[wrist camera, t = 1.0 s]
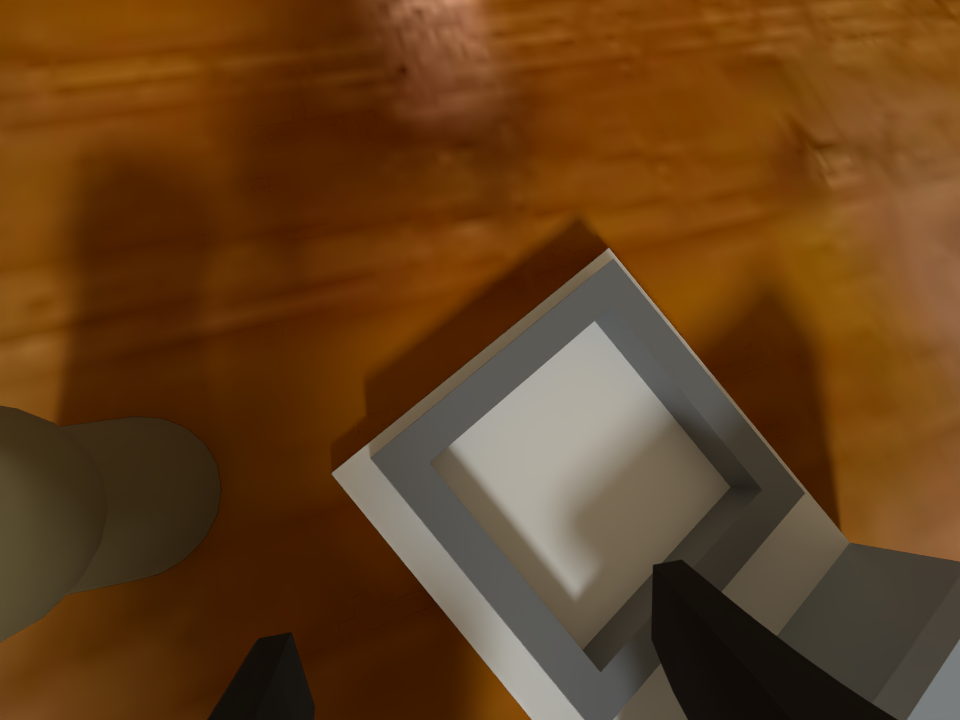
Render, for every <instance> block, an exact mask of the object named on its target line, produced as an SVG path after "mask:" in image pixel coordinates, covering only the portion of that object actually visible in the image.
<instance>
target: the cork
mask: <svg viewBox="0 0 960 720" xmlns="http://www.w3.org/2000/svg"><path fill="white" fill-rule="evenodd" d="M220 494H221V485H220V479H219V473H218V467H217V464H216V462H215V460H214V459H213V457H212V455H211V453H210V452H209V450H208V448H207V446H206V444H205V443H203V442H202V441H201V440H200V439H199V438H198V437H196V436H195V435H194V434H193V433H192V432H191V431H189V430H188V429H187V428H185V427H182V426H180V425H178V424H175V423H173V422H170V421H168V420H165V419H161V418H149V417H137V416H136V417H129V418H121V419H113V420H106V421H98V422H90V423H83V424H75V425H67V426H60V427H58V426H57V425H56V424H54V423H52V422H50V421H47V420H45V419H42V418H40V417H37V416H35V415H32V414H30V413H27V412H24V411H22V410H19V409H16V408H10V407H4V406H0V642H2V641H4V640H5V639H7V638H9V637H10V636H12V635H14V634H16V633H17V632H19V631H21V630H22V629H24V628H26V627H28V626H29V625H31V624H33V623H34V622H36V621H38V620H40V619H41V618H43V617H44V616H45V615H46V614H47V613H48V612H49V611H50V610H51V609H52V608H53V607H54V606H55V605H56V604H57V603H58V602H59V601H60V600H61V599H62V598H63V597H64V596H65V595H67V594H72V593H77V592H82V591H87V590H91V589H96V588H101V587H106V586H111V585H116V584H120V583H125V582H130V581H134V580H138V579H142V578H146V577H149V576H153V575H157V574H160V573H162V572H164V571H166V570H167V569H169V568H171V567H172V566H174V565H176V564H177V563H179V562H181V561H182V560H184V559H186V558H187V556H188V555H189V554H190V553H191V552H192V551H193V550H194V549H195V548H196V547H197V546H198V545H199V544H200V543H201V542H202V541H203V540H204V539H205V537H206V535H207V533H208V531H209V529H210V527H211V525H212V523H213V521H214V519H215V517H216V515H217V512H218V506H219V500H220Z"/></svg>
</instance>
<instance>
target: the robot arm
mask: <svg viewBox="0 0 960 720" xmlns="http://www.w3.org/2000/svg"><path fill="white" fill-rule="evenodd" d="M651 640H652V642H653V645H654V647H655V650H656V652H657V655H658V657H659V660H660V662H661V665H662V667H663V670H664V672H665V674H666V677H667V679H668V681H669V684H670V686H671V688H672V691H673V693H674V695H675V697H676V699H677V700H678V702H679V704H680V706H681V708H682V710H683V712H684V714H685V715H686V717H687V719H688V720H898V719H896V718H894V717H893V716H891V715H890V714H888V713H886V712H885V711H883V710H882V709H880V708H878V707H877V706H875V705H874V704H872V703H870V702H869V701H867V700H866V699H864V698H863V697H861V696H860V695H858V694H857V693H855V692H854V691H852V690H851V689H849V688H848V687H846V686H845V685H843V684H842V683H840V682H839V681H838V680H836V679H835V678H833V677H832V676H831V675H829V674H828V673H826V672H825V671H823V670H822V669H821V668H819V667H818V666H816V665H815V664H814V663H812V662H811V661H809V660H808V659H807V658H805V657H804V656H803V655H801V654H800V653H799V652H797V651H796V650H794V649H793V648H792V647H790V646H789V645H788V644H787V643H785V642H784V641H783V640H781V639H780V638H779V637H777V636H776V635H775V634H774V633H772V632H771V631H770V630H768V629H767V628H766V627H764V626H763V625H762V624H760V623H759V622H758V621H757V620H755V619H754V618H753V617H752V616H750V615H749V614H748V613H747V612H745V611H744V610H743V609H742V608H740V607H739V606H738V605H737V604H735V603H734V602H733V601H732V600H731V599H729V598H728V597H727V596H726V595H724V594H723V593H722V592H721V591H720V590H718V589H717V588H716V587H715V586H713V585H712V584H711V583H710V582H709V581H707V580H706V579H705V578H704V577H703V576H701V575H700V574H699V573H698V572H697V571H695V570H694V569H693V568H692V567H690V566H689V565H688V564H687V563H685V562H684V561H683V560H682V559H681V560H676V561H670V562H665V563H660V564H654V565H653V578H652V625H651ZM314 708H315V706H314V703H313V700H312V697H311V693H310V690H309V687H308V684H307V681H306V677H305V674H304V671H303V668H302V665H301V661H300V658H299V655H298V652H297V649H296V646H295V642H294V639H293V636H292V633H285V634H280V635H275V636H269V637H264V638H259V639H258V640H257V641H256V643H255V644H254V645H253V647H252V649H251V650H250V652H249V653H248V655H247V657H246V658H245V660H244V662H243V663H242V665H241V667H240V668H239V670H238V671H237V673H236V675H235V676H234V678H233V680H232V681H231V683H230V684H229V686H228V688H227V689H226V691H225V693H224V694H223V696H222V697H221V699H220V700H219V702H218V704H217V705H216V707H215V708H214V710H213V712H212V713H211V715H210V716H209V718H208V719H207V720H314Z"/></svg>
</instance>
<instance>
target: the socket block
mask: <svg viewBox="0 0 960 720" xmlns="http://www.w3.org/2000/svg"><path fill="white" fill-rule="evenodd" d="M331 474H332V475H333V477H334V478H335V479H336V480H337V481H338V483H339V484H340V485H341V486H342V488H343V489H344V490H345V491H346V492H347V494H348V495H349V496H350V497H351V499H352V500H353V501H354V502H355V503H356V505H357V506H358V507H359V508H360V510H361V511H362V512H363V513H364V515H365V516H366V517H367V518H368V519H369V521H370V522H371V523H372V524H373V526H374V527H375V528H376V529H377V530H378V532H379V533H380V534H381V535H382V537H383V538H384V539H385V540H386V541H387V543H388V544H389V545H390V546H391V548H392V549H393V550H394V551H395V552H396V554H397V555H398V556H399V557H400V559H401V560H402V561H403V562H404V563H405V565H406V566H407V567H408V568H409V570H410V571H411V572H412V573H413V575H414V576H415V577H416V578H417V579H418V581H419V582H420V583H421V584H422V586H423V587H424V588H425V589H426V590H427V592H428V593H429V594H430V595H431V597H432V598H433V599H434V600H435V601H436V603H437V604H438V605H439V606H440V608H441V609H442V610H443V611H444V612H445V614H446V615H447V616H448V617H449V619H450V620H451V621H452V622H453V623H454V625H455V626H456V627H457V628H458V630H459V631H460V632H461V633H462V635H463V636H464V637H465V638H466V639H467V641H468V642H469V643H470V644H471V646H472V647H473V648H474V649H475V650H476V652H477V653H478V654H479V655H480V657H481V658H482V659H483V660H484V661H485V663H486V664H487V665H488V666H489V668H490V669H491V670H492V671H493V672H494V674H495V675H496V676H497V677H498V679H499V680H500V681H501V682H502V683H503V685H504V686H505V687H506V688H507V690H508V691H509V692H510V693H511V694H512V696H513V697H514V698H515V699H516V701H517V702H518V703H519V704H520V706H521V707H522V708H523V709H524V710H525V712H526V713H527V714H528V715H529V717H530V718H531V719H532V720H688V719H687V717H686V715H685V714H684V712H683V710H682V708H681V706H680V704H679V702H678V700H677V699H676V697H675V695H674V693H673V691H672V688H671V686H670V684H669V681H668V679H667V677H666V674H665V672H664V670H663V667H662V665H661V662H660V660H659V657H658V655H657V652H656V650H655V647H654V645H653V642H652V640H651V625H652V578H653V565H654V564H660V563H665V562H670V561H676V560H681V559H682V560H683V561H684V562H685V563H687V564H688V565H689V566H690V567H692V568H693V569H694V570H695V571H697V572H698V573H699V574H700V575H701V576H703V577H704V578H705V579H706V580H707V581H709V582H710V583H711V584H712V585H713V586H715V587H716V588H717V589H718V590H720V591H721V592H722V593H723V594H724V595H726V596H727V597H728V598H729V599H731V600H732V601H733V602H734V603H735V604H737V605H738V606H739V607H740V608H742V609H743V610H744V611H745V612H747V613H748V614H749V615H750V616H752V617H753V618H754V619H755V620H757V621H758V622H759V623H760V624H762V625H763V626H764V627H766V628H767V629H768V630H770V631H771V632H772V633H774V634H775V635H776V636H777V637H779V638H780V639H781V640H783V641H784V642H785V643H787V644H788V645H789V646H790V647H792V648H793V649H794V650H796V651H797V652H799V653H800V654H801V655H803V656H804V657H805V658H807V659H808V660H809V661H811V662H812V663H814V664H815V665H816V666H818V667H819V668H821V669H822V670H823V671H825V672H826V673H828V674H829V675H831V676H832V677H833V678H835V679H836V680H838V681H839V682H840V683H842V684H843V685H845V686H846V687H848V688H849V689H851V690H852V691H854V692H855V693H857V694H858V695H860V696H861V697H863V698H864V699H866V700H867V701H869V702H870V703H872V704H874V705H875V706H877V707H878V708H880V709H882V710H883V711H885V712H886V713H888V714H890V715H891V716H893V717H894V718H896V719H898V720H960V562H958V561H953V560H947V559H941V558H935V557H929V556H924V555H918V554H912V553H906V552H900V551H895V550H889V549H883V548H877V547H871V546H866V545H860V544H854V543H850V542H849V541H848V540H847V539H846V537H845V536H844V535H843V534H842V533H841V531H840V530H839V529H838V528H837V526H836V525H835V524H834V523H833V522H832V520H831V519H830V518H829V517H828V515H827V514H826V513H825V512H824V511H823V509H822V508H821V507H820V506H819V504H818V503H817V502H816V501H815V500H814V498H813V497H812V496H811V495H810V493H809V492H808V491H807V490H806V489H805V487H804V486H803V485H802V484H801V482H800V481H799V480H798V479H797V477H796V476H795V475H794V474H793V473H792V471H791V470H790V469H789V468H788V466H787V465H786V464H785V463H784V462H783V460H782V459H781V458H780V457H779V455H778V454H777V453H776V452H775V451H774V449H773V448H772V447H771V446H770V444H769V443H768V442H767V441H766V440H765V438H764V437H763V436H762V435H761V433H760V432H759V431H758V430H757V429H756V427H755V426H754V425H753V424H752V422H751V421H750V420H749V419H748V418H747V416H746V415H745V414H744V413H743V411H742V410H741V409H740V408H739V407H738V405H737V404H736V403H735V402H734V400H733V399H732V398H731V397H730V396H729V394H728V393H727V392H726V391H725V389H724V388H723V387H722V386H721V384H720V383H719V382H718V381H717V380H716V378H715V377H714V376H713V375H712V373H711V372H710V371H709V370H708V369H707V367H706V366H705V365H704V364H703V362H702V361H701V360H700V359H699V358H698V356H697V355H696V354H695V353H694V351H693V350H692V349H691V348H690V347H689V345H688V344H687V343H686V342H685V340H684V339H683V338H682V337H681V336H680V334H679V333H678V332H677V331H676V329H675V328H674V327H673V326H672V325H671V323H670V322H669V321H668V320H667V318H666V317H665V316H664V315H663V314H662V312H661V311H660V310H659V309H658V307H657V306H656V305H655V304H654V303H653V301H652V300H651V299H650V298H649V296H648V295H647V294H646V293H645V291H644V290H643V289H642V288H641V287H640V285H639V284H638V283H637V282H636V280H635V279H634V278H633V277H632V276H631V274H630V273H629V272H628V271H627V269H626V268H625V267H624V266H623V265H622V263H621V262H620V261H619V260H618V258H617V257H616V256H615V255H614V254H613V252H612V251H611V250H610V249H609V248H608V249H607V250H606V251H605V252H603V253H602V254H601V255H600V256H598V257H597V258H596V259H595V260H594V261H592V262H591V263H590V264H589V265H587V266H586V267H585V268H584V269H582V270H581V271H580V272H579V273H577V274H576V275H575V276H574V277H573V278H571V279H570V280H569V281H568V282H566V283H565V284H564V285H563V286H561V287H560V288H559V289H558V290H557V291H555V292H554V293H553V294H552V295H550V296H549V297H548V298H547V299H545V300H544V301H543V302H542V303H541V304H539V305H538V306H537V307H536V308H534V309H533V310H532V311H531V312H529V313H528V314H527V315H526V316H525V317H523V318H522V319H521V320H520V321H518V322H517V323H516V324H515V325H513V326H512V327H511V328H510V329H508V330H507V331H506V332H505V333H504V334H502V335H501V336H500V337H499V338H497V339H496V340H495V341H494V342H492V343H491V344H490V345H489V346H488V347H486V348H485V349H484V350H483V351H481V352H480V353H479V354H478V355H476V356H475V357H474V358H473V359H472V360H470V361H469V362H468V363H467V364H465V365H464V366H463V367H462V368H460V369H459V370H458V371H457V372H456V373H454V374H453V375H452V376H451V377H449V378H448V379H447V380H446V381H444V382H443V383H442V384H441V385H439V386H438V387H437V388H436V389H435V390H433V391H432V392H431V393H430V394H428V395H427V396H426V397H425V398H423V399H422V400H421V401H420V402H419V403H417V404H416V405H415V406H414V407H412V408H411V409H410V410H409V411H407V412H406V413H405V414H404V415H403V416H401V417H400V418H399V419H398V420H396V421H395V422H394V423H393V424H391V425H390V426H389V427H388V428H387V429H385V430H384V431H383V432H382V433H380V434H379V435H378V436H377V437H375V438H374V439H373V440H372V441H370V442H369V443H368V444H367V445H366V446H364V447H363V448H362V449H361V450H359V451H358V452H357V453H356V454H354V455H353V456H352V457H351V458H350V459H348V460H347V461H346V462H345V463H343V464H342V465H341V466H340V467H338V468H337V469H336V470H335V471H334V472H332V473H331Z"/></svg>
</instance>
